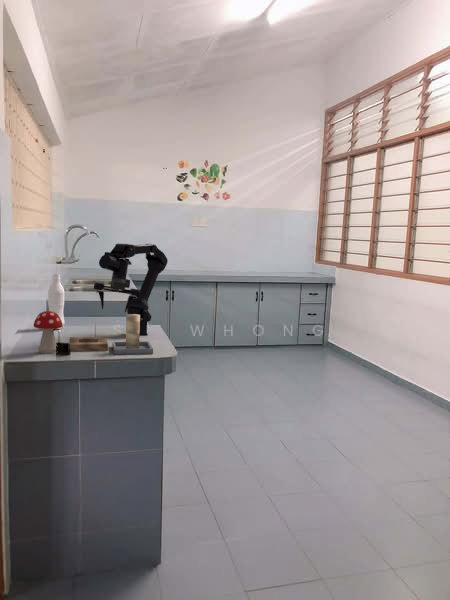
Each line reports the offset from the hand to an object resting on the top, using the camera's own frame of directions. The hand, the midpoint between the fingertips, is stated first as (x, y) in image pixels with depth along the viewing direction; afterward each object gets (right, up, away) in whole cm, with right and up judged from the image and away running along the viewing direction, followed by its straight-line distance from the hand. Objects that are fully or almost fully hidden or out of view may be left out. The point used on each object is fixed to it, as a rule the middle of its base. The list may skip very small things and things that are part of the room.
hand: (113, 310), depth 205 cm
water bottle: (-31, -9, +22) cm, 39 cm away
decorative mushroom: (-18, -15, -25) cm, 34 cm away
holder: (-7, -14, -14) cm, 20 cm away
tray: (+11, -15, -16) cm, 24 cm away
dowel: (+11, -14, -16) cm, 24 cm away
